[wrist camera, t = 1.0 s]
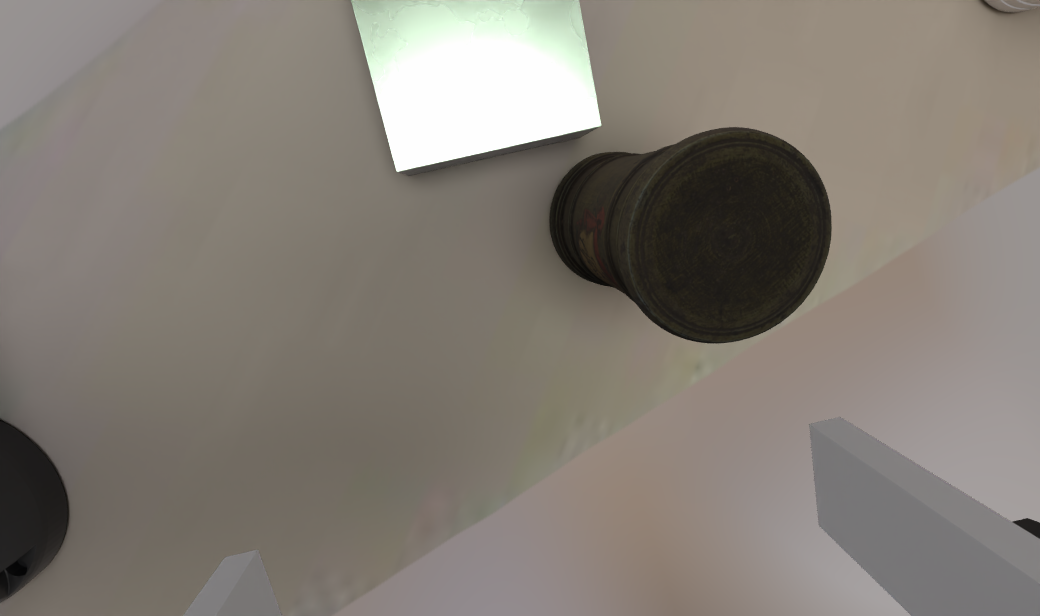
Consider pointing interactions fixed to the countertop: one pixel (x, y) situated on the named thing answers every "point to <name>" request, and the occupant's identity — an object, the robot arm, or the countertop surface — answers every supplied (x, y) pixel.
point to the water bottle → (1013, 5)
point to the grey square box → (476, 77)
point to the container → (699, 231)
